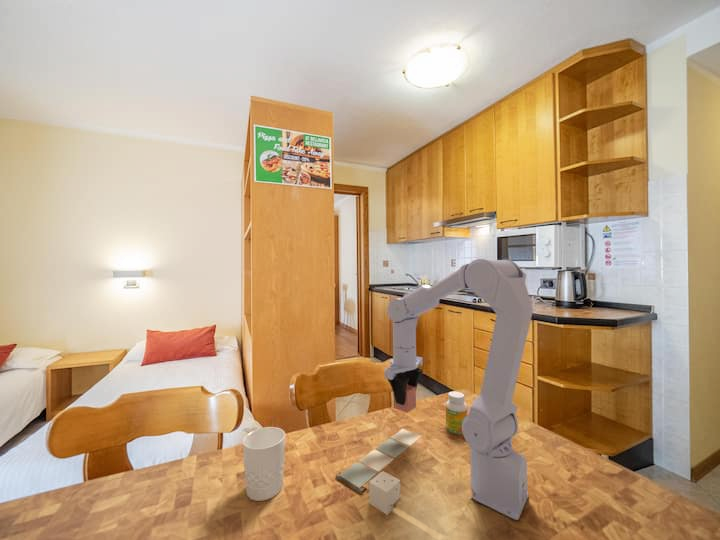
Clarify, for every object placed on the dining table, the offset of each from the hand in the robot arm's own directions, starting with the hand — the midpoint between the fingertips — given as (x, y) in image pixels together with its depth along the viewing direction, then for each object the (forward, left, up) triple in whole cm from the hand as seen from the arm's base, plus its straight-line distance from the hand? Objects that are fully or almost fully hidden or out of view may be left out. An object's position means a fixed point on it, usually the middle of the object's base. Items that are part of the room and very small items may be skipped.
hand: (405, 400), depth 75 cm
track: (0, +9, -10) cm, 13 cm away
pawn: (0, 0, -2) cm, 2 cm away
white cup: (+12, +32, -10) cm, 36 cm away
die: (-8, +20, -10) cm, 23 cm away
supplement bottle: (-8, -12, -10) cm, 18 cm away
